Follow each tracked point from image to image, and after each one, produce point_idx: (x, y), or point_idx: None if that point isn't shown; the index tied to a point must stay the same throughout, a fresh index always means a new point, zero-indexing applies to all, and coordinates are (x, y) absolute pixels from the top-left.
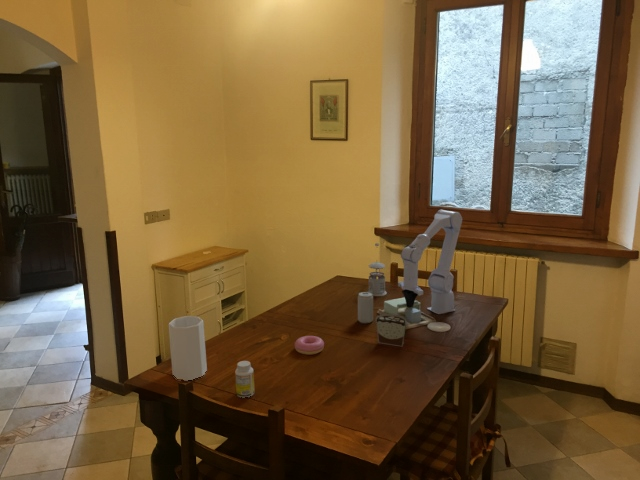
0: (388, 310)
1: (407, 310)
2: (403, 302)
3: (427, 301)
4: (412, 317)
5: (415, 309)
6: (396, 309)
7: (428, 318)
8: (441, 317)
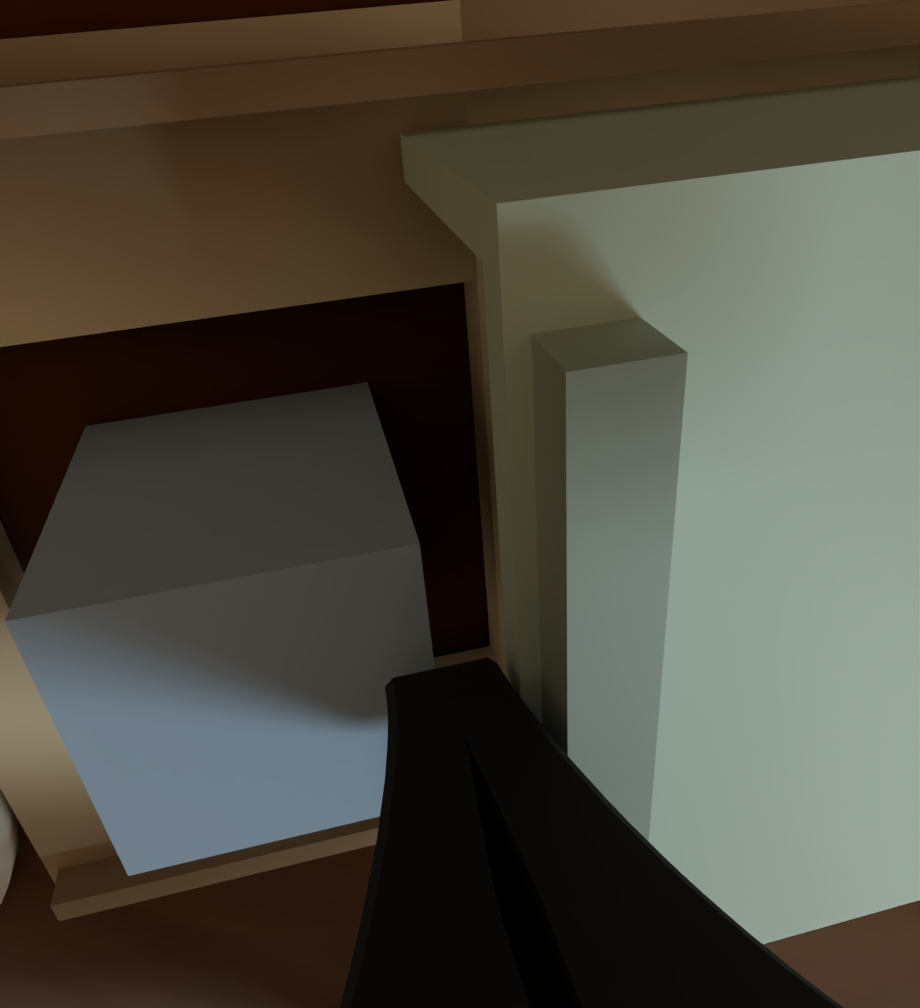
0: (911, 95)
1: (314, 570)
2: (833, 682)
3: (882, 936)
4: (49, 539)
5: (312, 792)
6: (494, 183)
7: None
8: (285, 959)
